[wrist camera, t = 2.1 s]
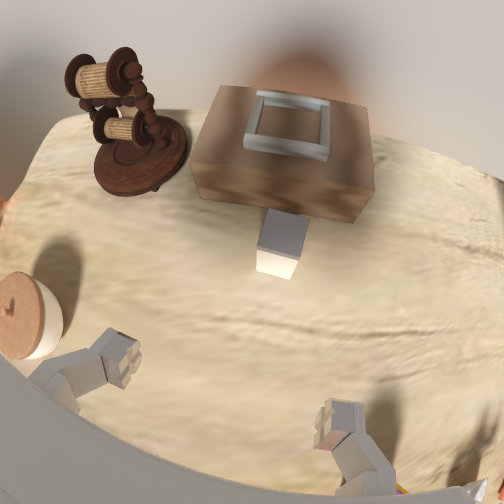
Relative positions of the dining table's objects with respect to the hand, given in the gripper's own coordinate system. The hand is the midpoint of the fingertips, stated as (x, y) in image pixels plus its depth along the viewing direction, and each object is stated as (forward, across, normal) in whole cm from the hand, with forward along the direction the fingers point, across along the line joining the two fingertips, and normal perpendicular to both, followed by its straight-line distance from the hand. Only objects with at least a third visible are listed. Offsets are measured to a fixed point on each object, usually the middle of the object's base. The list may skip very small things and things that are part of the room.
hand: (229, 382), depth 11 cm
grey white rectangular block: (+23, 0, +5) cm, 24 cm away
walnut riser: (+32, +2, -4) cm, 33 cm away
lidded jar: (+11, +27, +18) cm, 34 cm away
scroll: (+30, +23, -1) cm, 38 cm away
